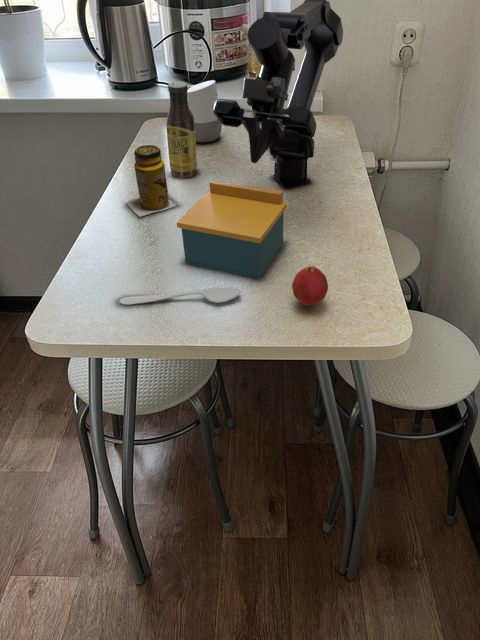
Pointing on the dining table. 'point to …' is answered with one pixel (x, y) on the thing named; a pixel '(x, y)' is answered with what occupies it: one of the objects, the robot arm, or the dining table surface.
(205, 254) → the storage bin
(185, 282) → the dining table surface
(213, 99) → the smart speaker
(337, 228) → the dining table surface
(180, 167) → the sauce bottle
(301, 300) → the onion
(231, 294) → the spoon
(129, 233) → the dining table surface
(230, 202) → the bin lid
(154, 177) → the condiment
